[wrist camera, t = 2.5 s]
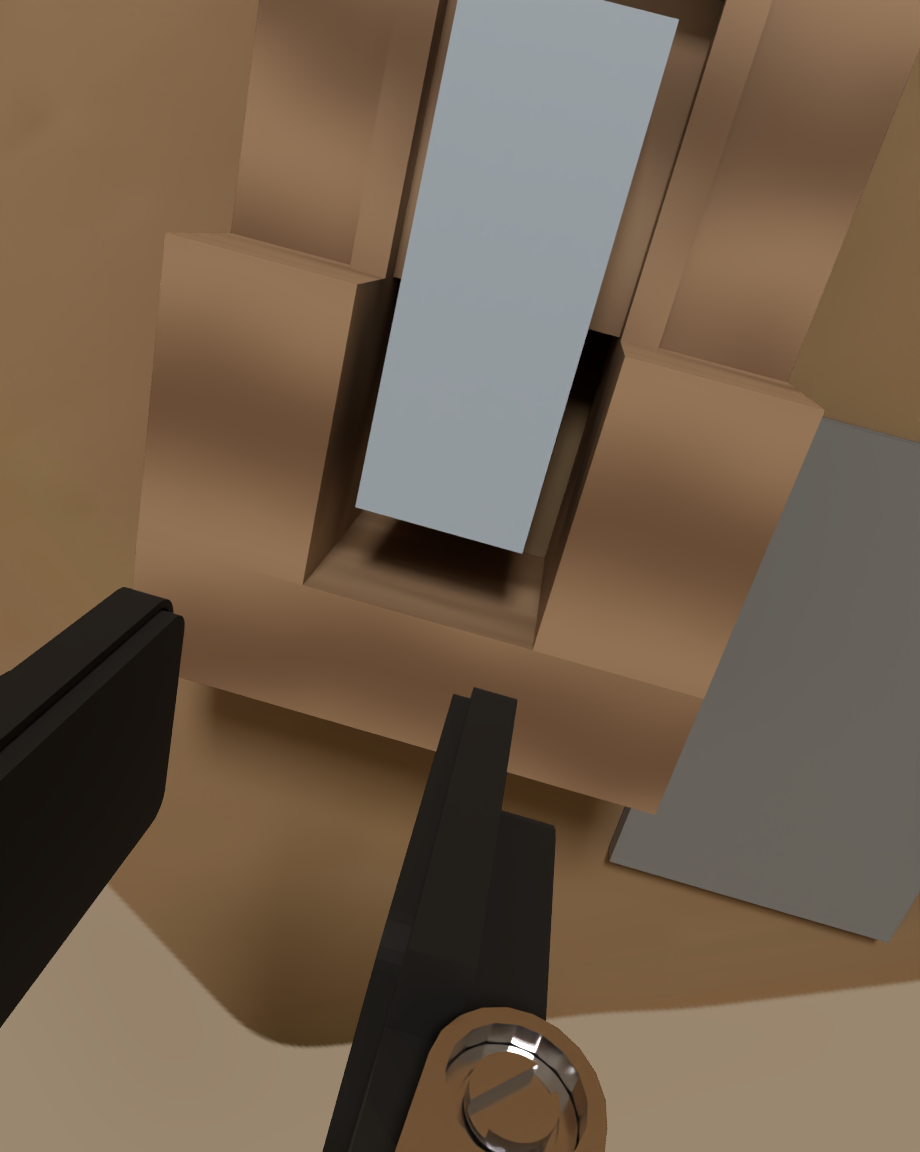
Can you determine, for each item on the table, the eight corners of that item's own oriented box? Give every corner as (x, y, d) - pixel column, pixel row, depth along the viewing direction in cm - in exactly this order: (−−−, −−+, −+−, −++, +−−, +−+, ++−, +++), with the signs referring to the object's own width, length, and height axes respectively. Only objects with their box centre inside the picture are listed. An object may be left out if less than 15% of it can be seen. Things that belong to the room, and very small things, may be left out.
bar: (486, 12, 21) (464, -35, 17) (662, 57, 21) (679, 19, 17) (388, 467, 26) (354, 507, 22) (531, 507, 25) (522, 553, 22)
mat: (1136, 501, 26) (1152, 509, 25) (881, 927, 33) (888, 942, 32) (785, 407, 26) (791, 412, 25) (608, 847, 33) (609, 861, 33)
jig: (335, -257, 22) (229, -463, 15) (947, -107, 21) (1105, -257, 15) (221, 573, 31) (125, 661, 25) (640, 692, 31) (655, 814, 24)
